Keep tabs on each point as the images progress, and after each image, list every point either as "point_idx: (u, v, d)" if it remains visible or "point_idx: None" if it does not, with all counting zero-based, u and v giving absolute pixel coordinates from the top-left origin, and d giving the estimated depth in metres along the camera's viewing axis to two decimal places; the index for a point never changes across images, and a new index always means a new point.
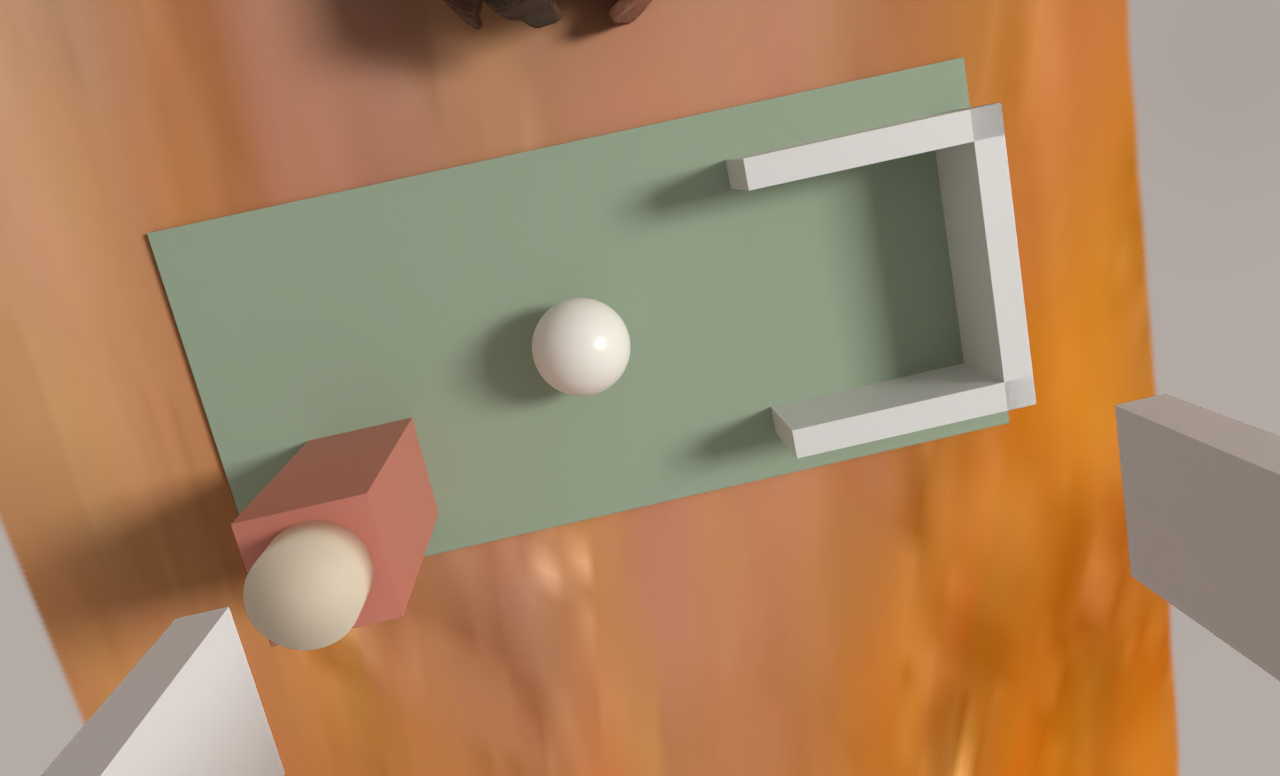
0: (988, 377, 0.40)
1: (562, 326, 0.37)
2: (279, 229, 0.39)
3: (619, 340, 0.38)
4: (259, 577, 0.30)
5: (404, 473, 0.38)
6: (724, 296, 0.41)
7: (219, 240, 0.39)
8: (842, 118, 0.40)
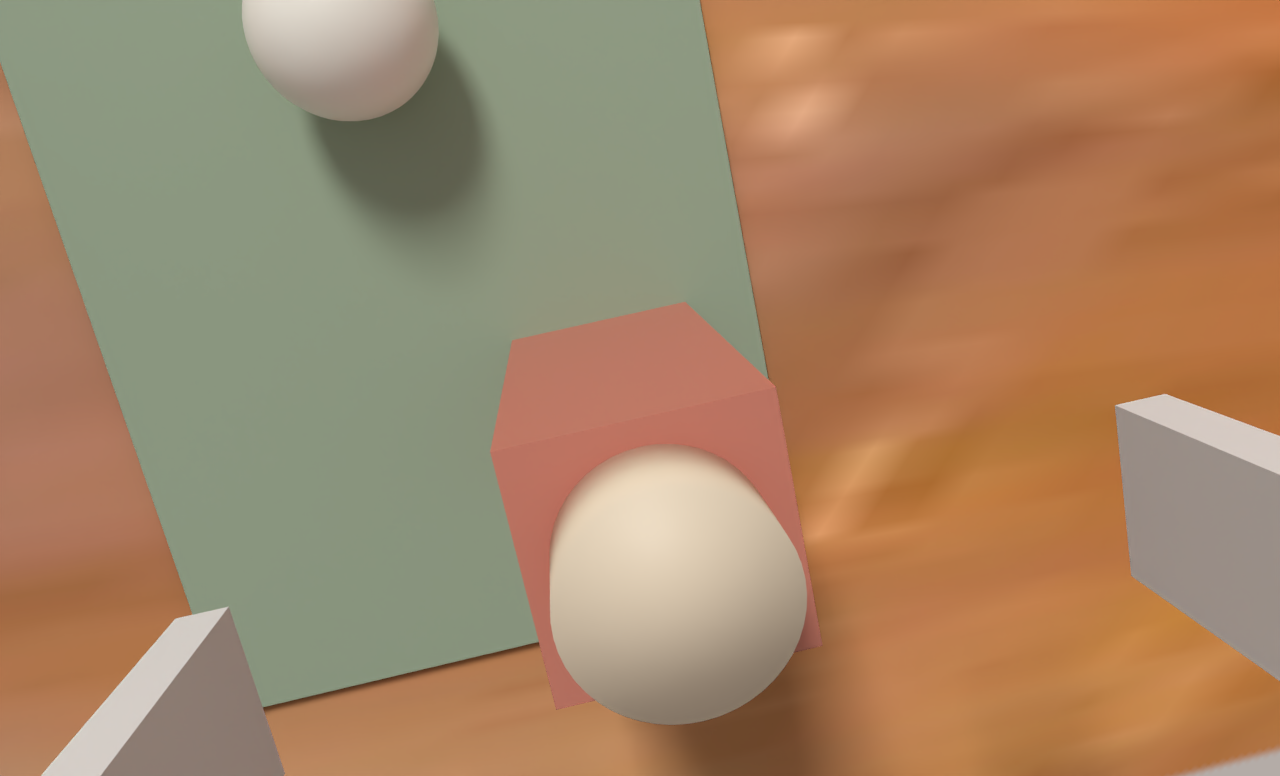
0: None
1: (273, 52, 0.19)
2: (203, 533, 0.25)
3: None
4: (629, 692, 0.14)
5: (561, 361, 0.20)
6: None
7: None
8: None
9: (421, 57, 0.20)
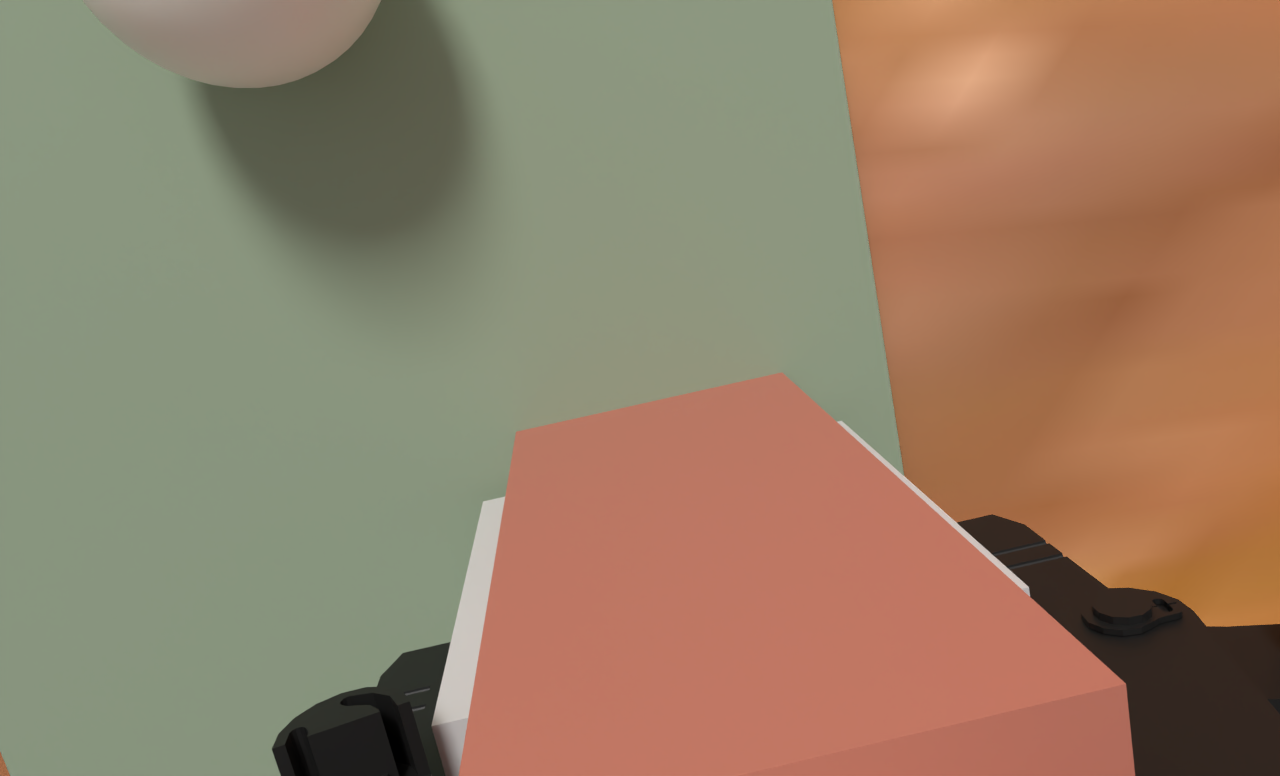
0: None
1: None
2: (48, 720, 0.16)
3: None
4: None
5: (598, 498, 0.12)
6: None
7: None
8: None
9: None
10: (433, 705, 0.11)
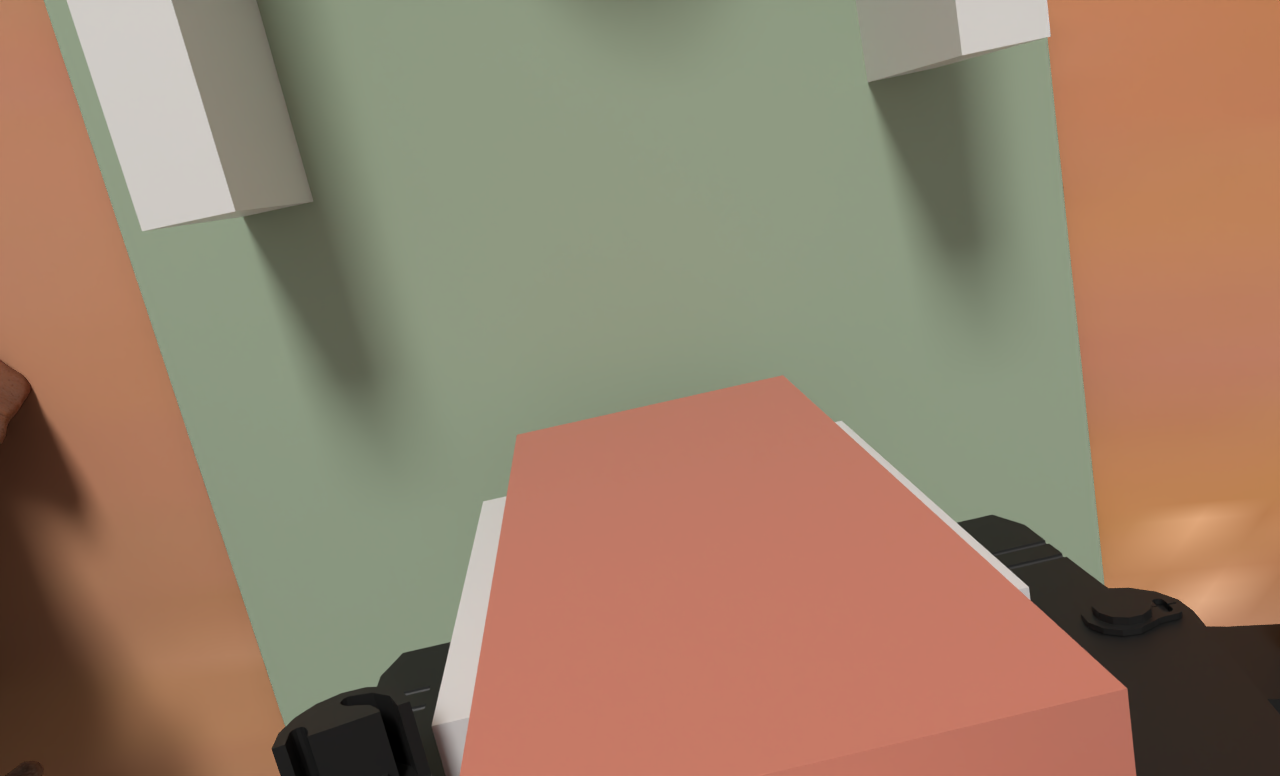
0: None
1: None
2: None
3: None
4: None
5: (598, 501, 0.12)
6: (582, 211, 0.17)
7: None
8: None
9: None
10: (433, 705, 0.11)
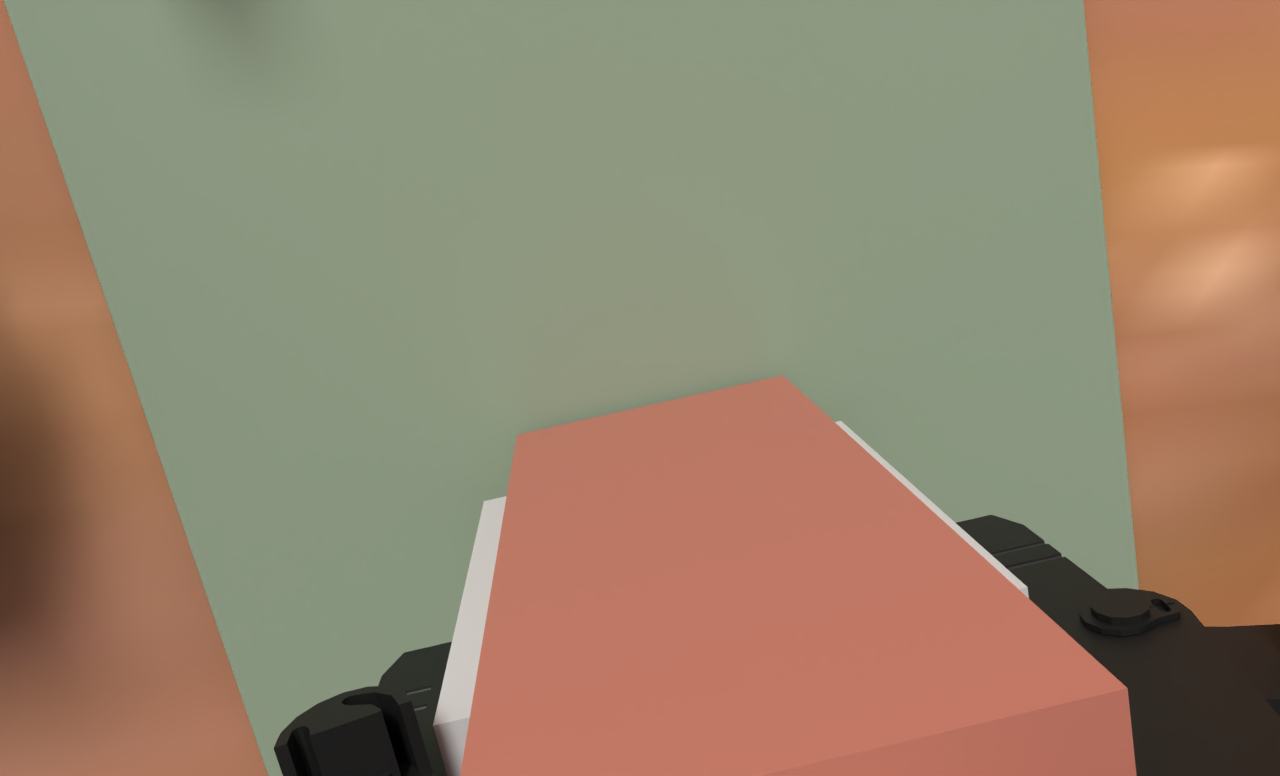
0: None
1: None
2: None
3: None
4: None
5: (599, 501, 0.12)
6: None
7: None
8: None
9: None
10: (434, 704, 0.11)
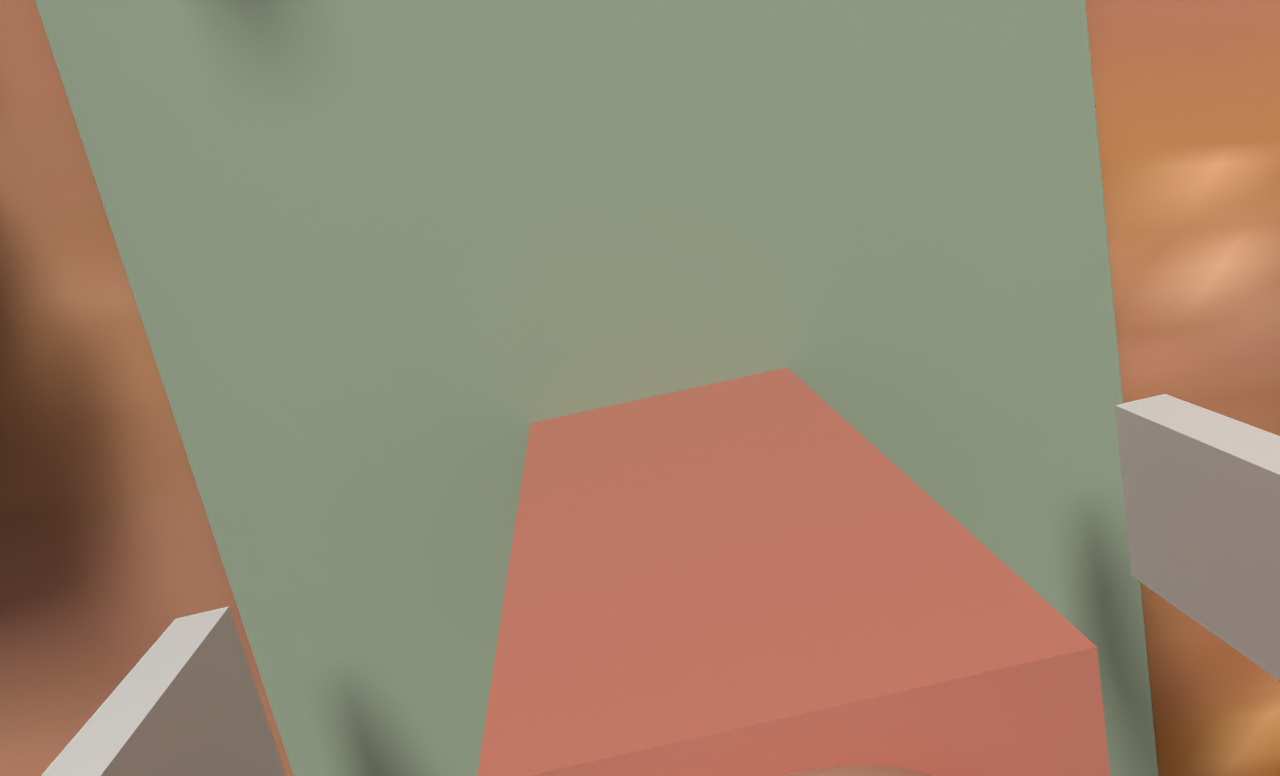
0: None
1: None
2: None
3: None
4: None
5: (610, 484, 0.12)
6: None
7: None
8: None
9: None
10: None
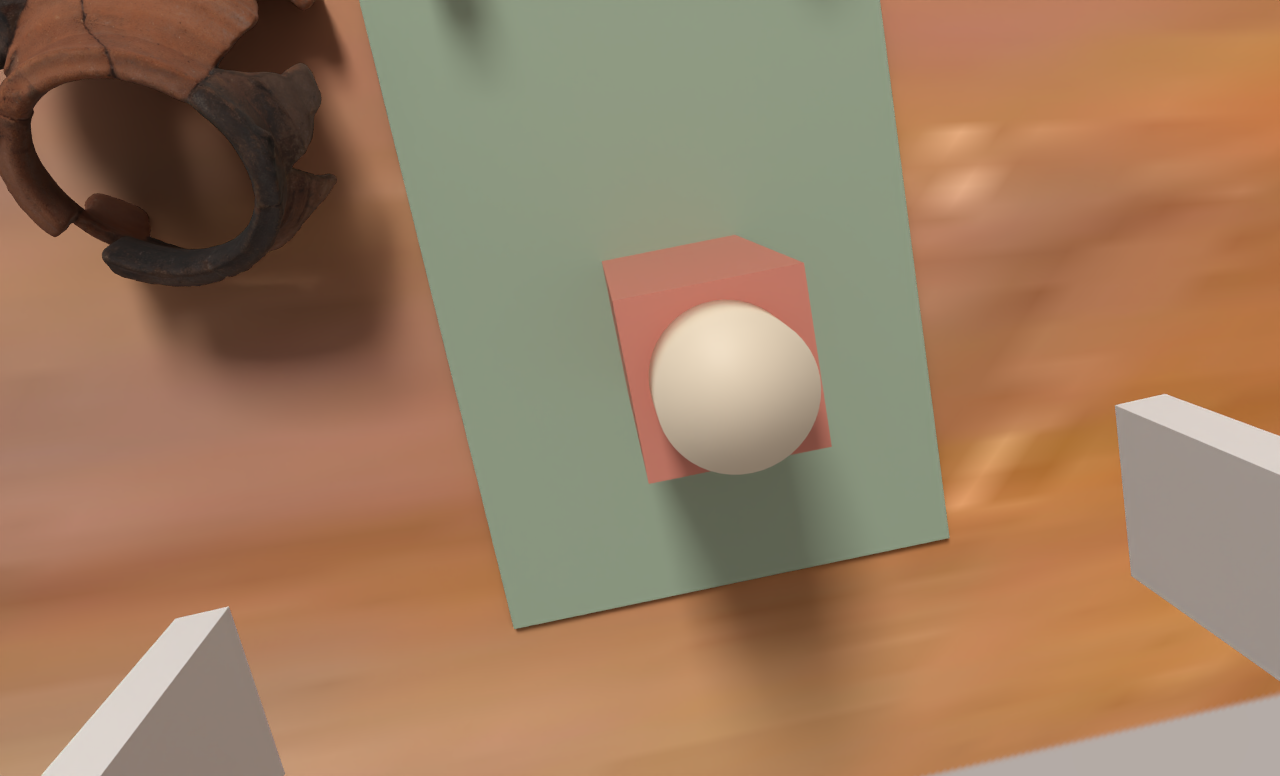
0: None
1: None
2: (508, 490, 0.33)
3: None
4: (703, 451, 0.21)
5: (646, 266, 0.28)
6: None
7: (521, 555, 0.34)
8: None
9: None
10: None
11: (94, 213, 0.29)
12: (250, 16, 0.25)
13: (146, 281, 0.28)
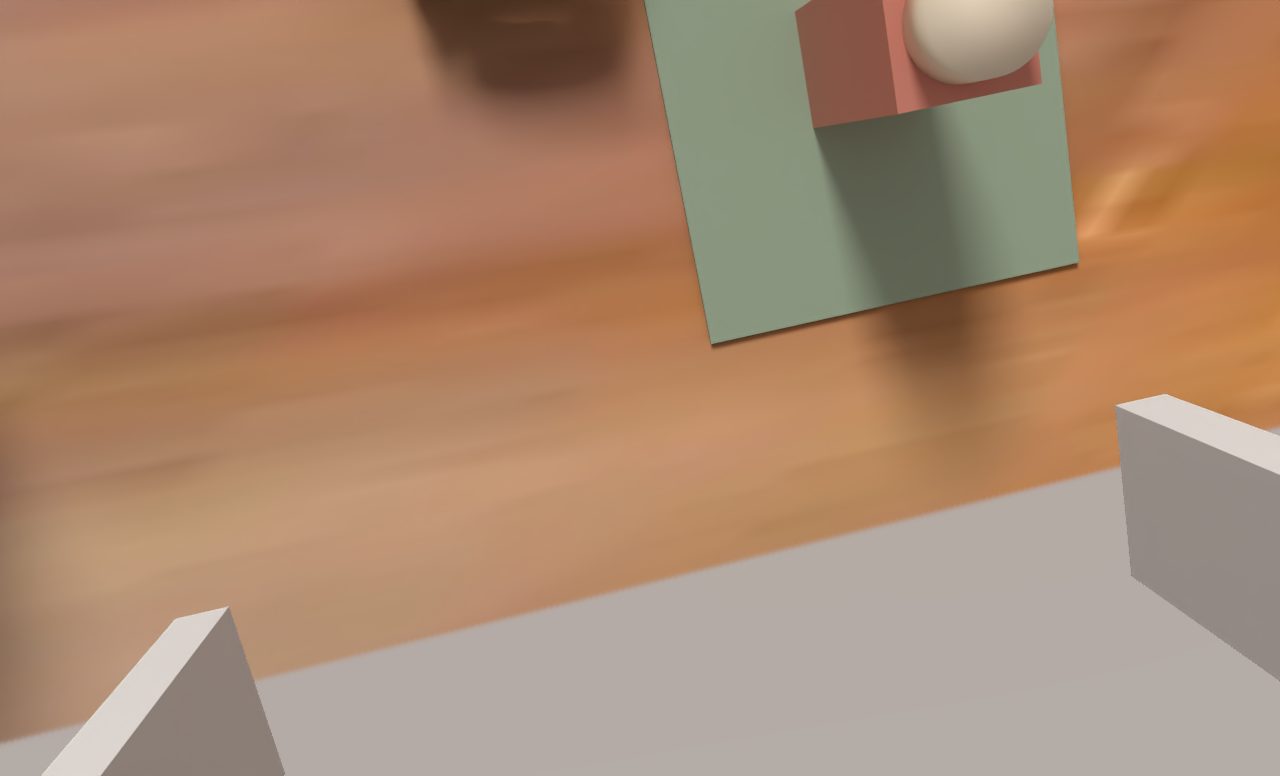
0: None
1: None
2: (710, 217, 0.39)
3: None
4: (961, 57, 0.27)
5: None
6: None
7: (719, 276, 0.40)
8: None
9: None
10: None
11: None
12: None
13: None
